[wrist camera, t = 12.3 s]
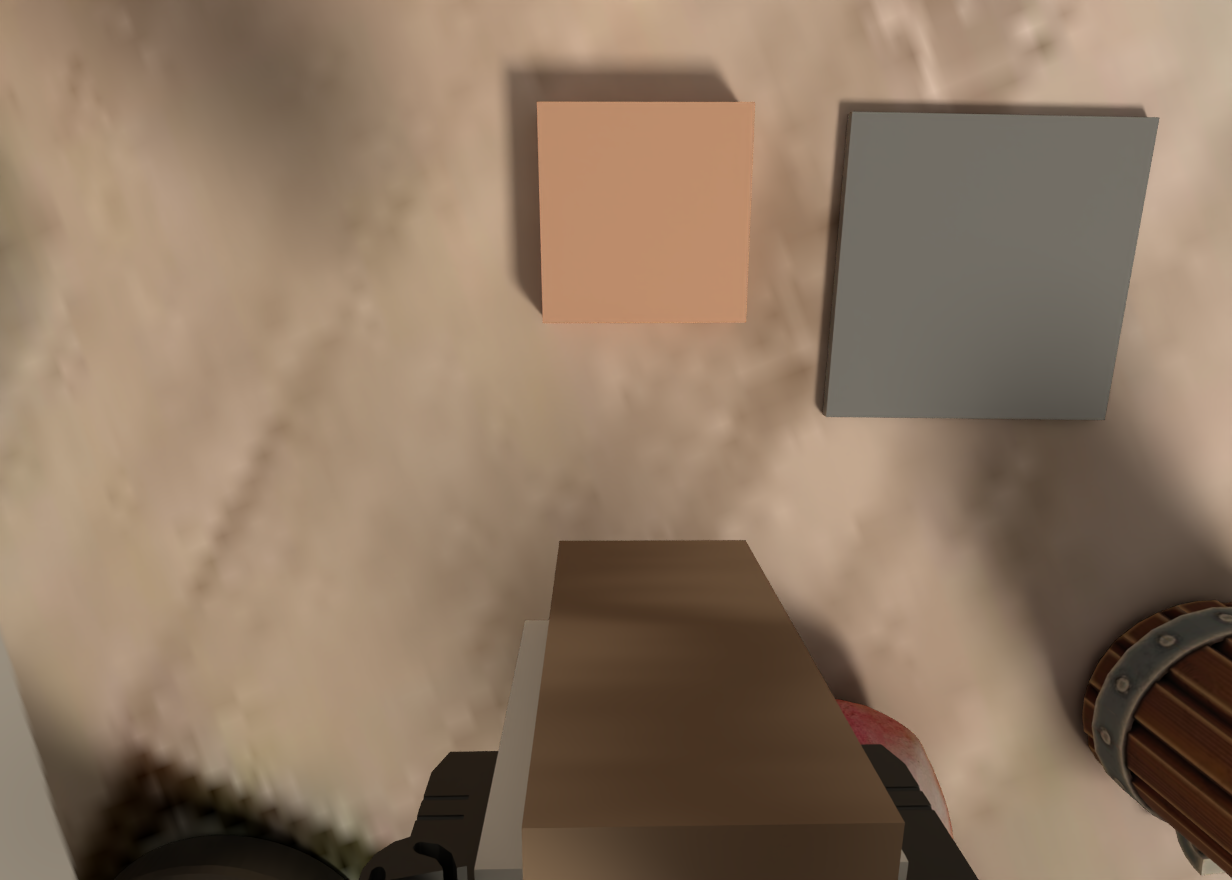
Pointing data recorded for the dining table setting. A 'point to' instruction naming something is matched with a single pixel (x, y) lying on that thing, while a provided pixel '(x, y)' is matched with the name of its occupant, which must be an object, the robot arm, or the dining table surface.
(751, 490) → the dining table surface
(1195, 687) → the mug
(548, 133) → the tile
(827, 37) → the dining table surface
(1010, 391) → the coaster
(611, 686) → the push block
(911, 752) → the fruit
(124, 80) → the dining table surface
